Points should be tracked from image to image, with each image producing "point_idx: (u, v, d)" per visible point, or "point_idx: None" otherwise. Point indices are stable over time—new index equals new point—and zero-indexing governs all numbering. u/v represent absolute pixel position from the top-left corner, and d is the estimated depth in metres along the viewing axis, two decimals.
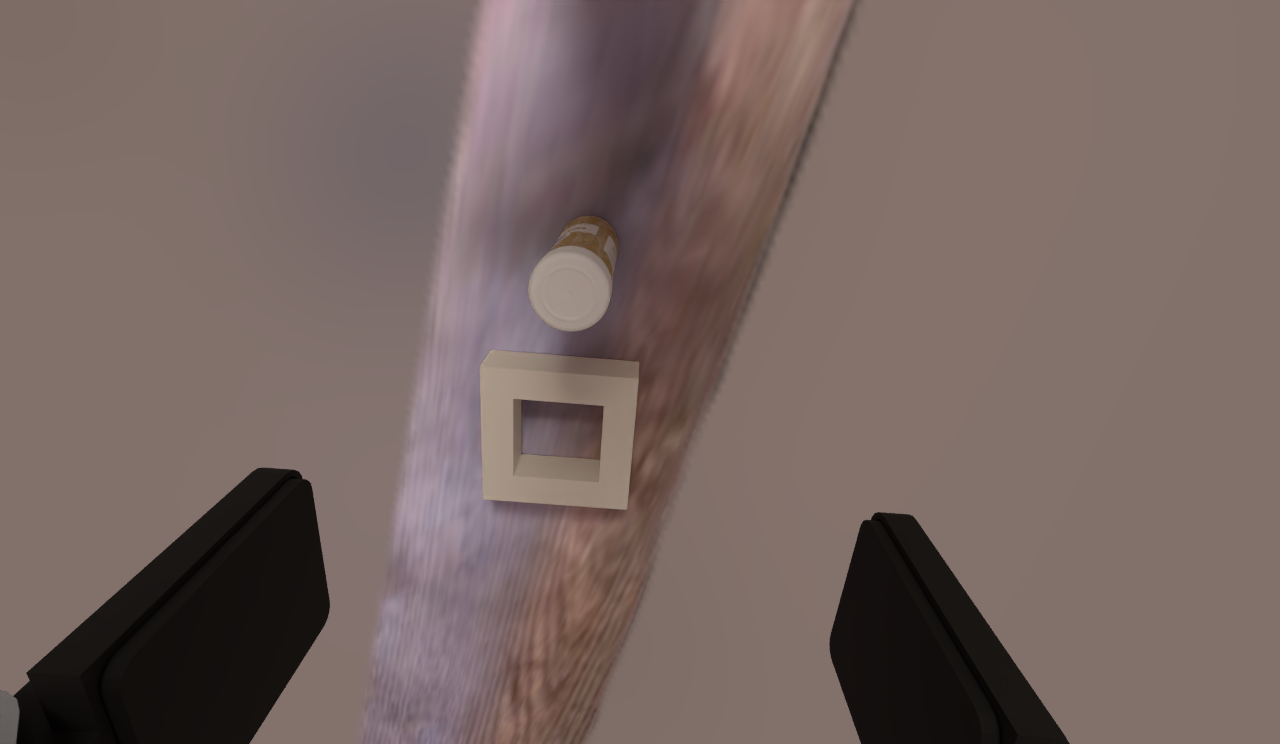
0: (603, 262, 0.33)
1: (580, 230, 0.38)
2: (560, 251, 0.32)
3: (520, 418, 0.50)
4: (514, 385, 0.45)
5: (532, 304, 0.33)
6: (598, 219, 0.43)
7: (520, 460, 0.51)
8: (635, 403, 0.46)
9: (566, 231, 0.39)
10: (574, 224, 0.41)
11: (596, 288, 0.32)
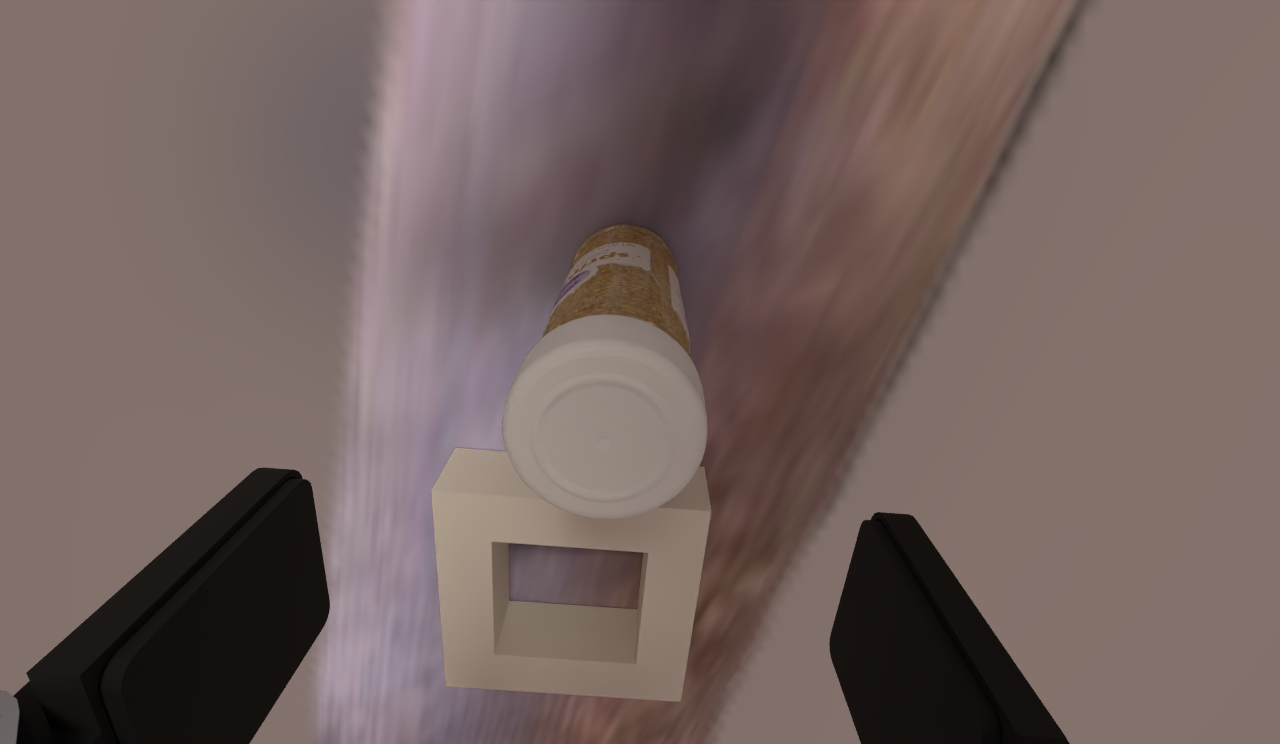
0: (686, 354, 0.14)
1: (618, 261, 0.18)
2: (584, 336, 0.12)
3: (506, 552, 0.30)
4: (493, 521, 0.26)
5: (513, 462, 0.13)
6: (643, 231, 0.23)
7: (507, 616, 0.31)
8: (703, 549, 0.26)
9: (587, 260, 0.20)
10: (601, 243, 0.22)
11: (675, 428, 0.13)
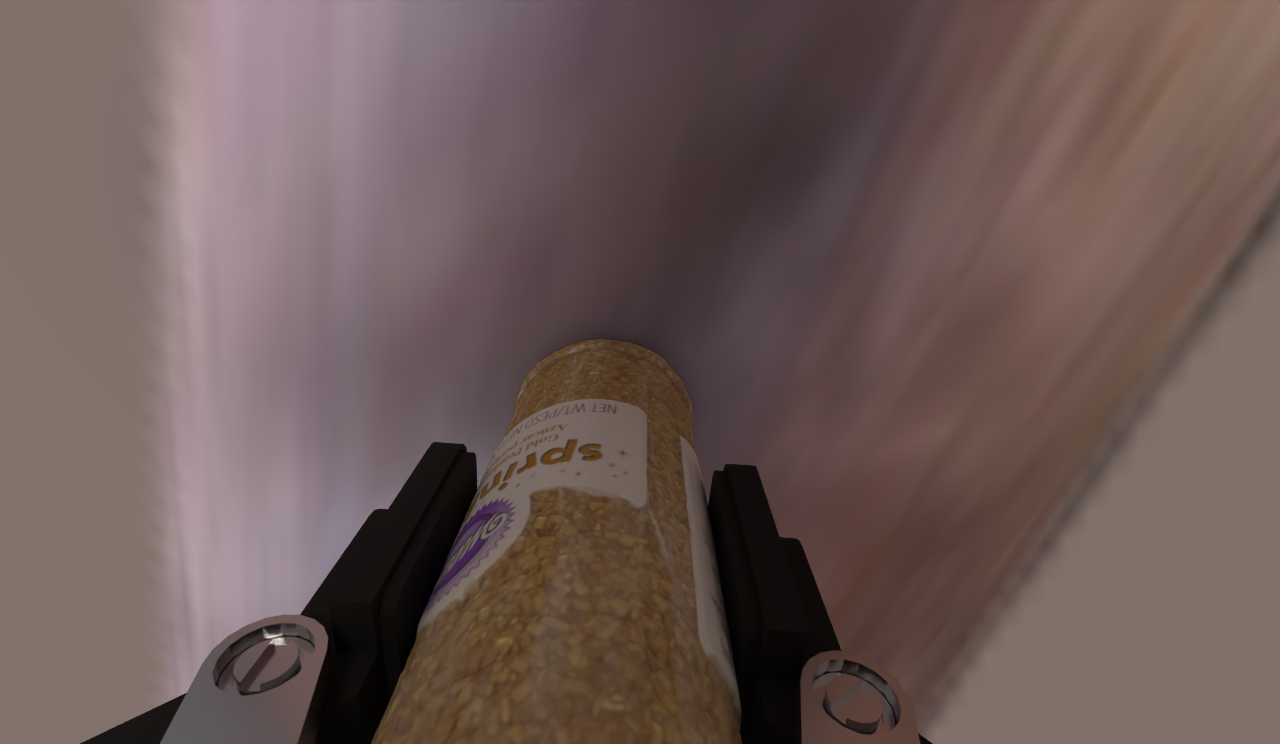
0: None
1: (577, 479, 0.09)
2: None
3: None
4: None
5: None
6: (635, 353, 0.14)
7: None
8: None
9: (521, 450, 0.10)
10: (557, 388, 0.12)
11: None
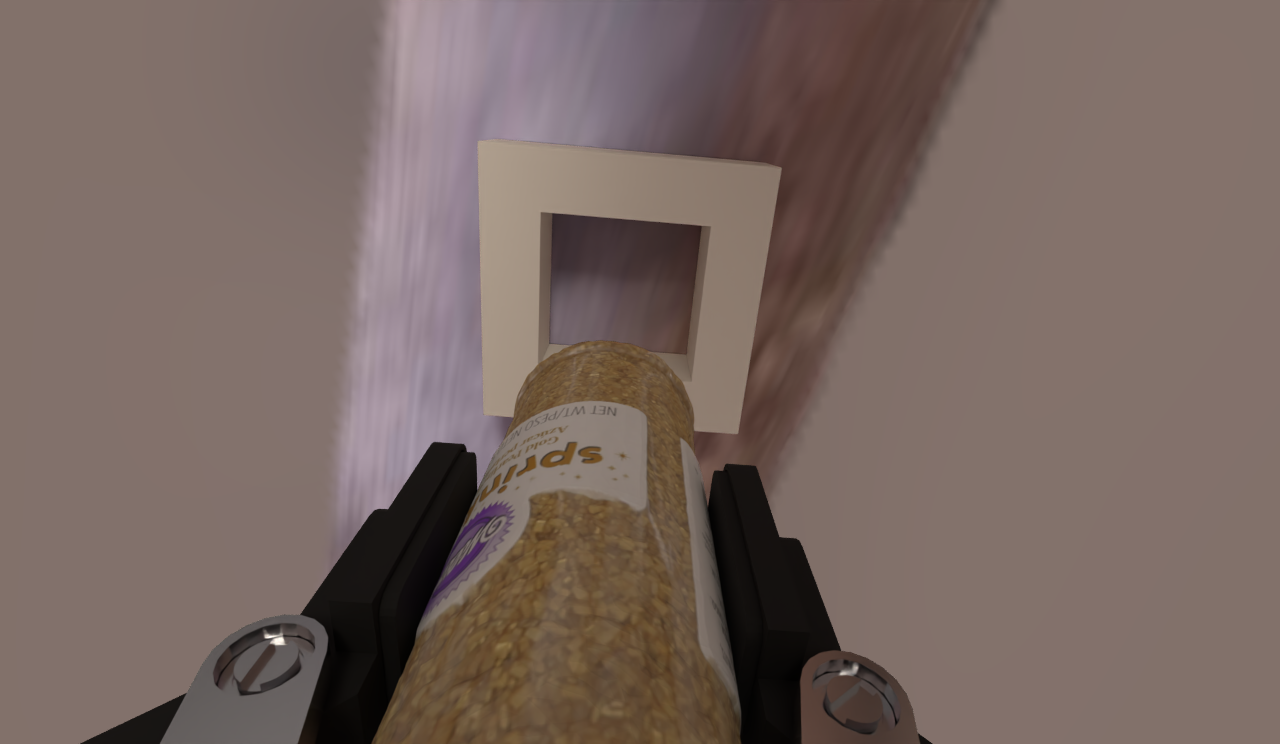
0: None
1: (576, 483, 0.09)
2: None
3: (549, 274, 0.28)
4: (543, 183, 0.24)
5: None
6: (635, 354, 0.14)
7: (548, 351, 0.29)
8: (771, 221, 0.24)
9: (521, 453, 0.10)
10: (557, 390, 0.12)
11: None
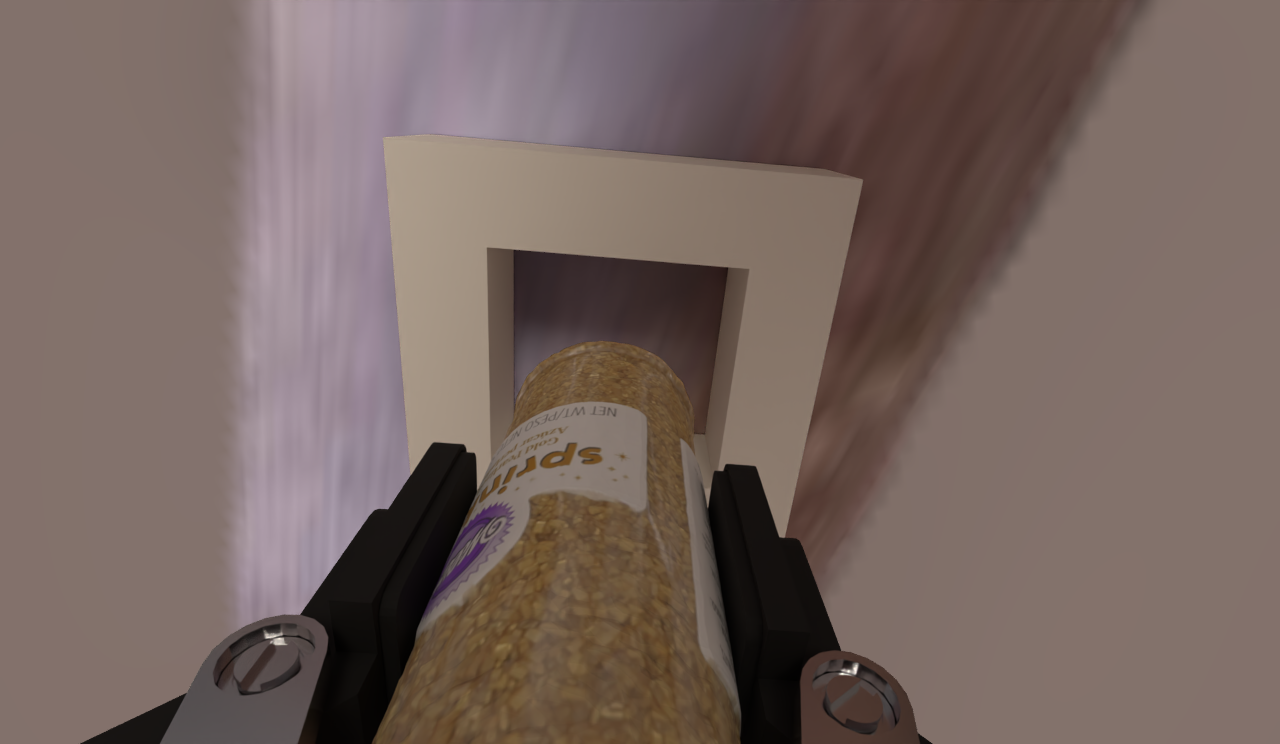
0: None
1: (576, 483, 0.09)
2: None
3: (510, 327, 0.20)
4: (489, 203, 0.15)
5: None
6: (635, 355, 0.14)
7: None
8: (842, 261, 0.16)
9: (521, 454, 0.10)
10: (557, 390, 0.12)
11: None
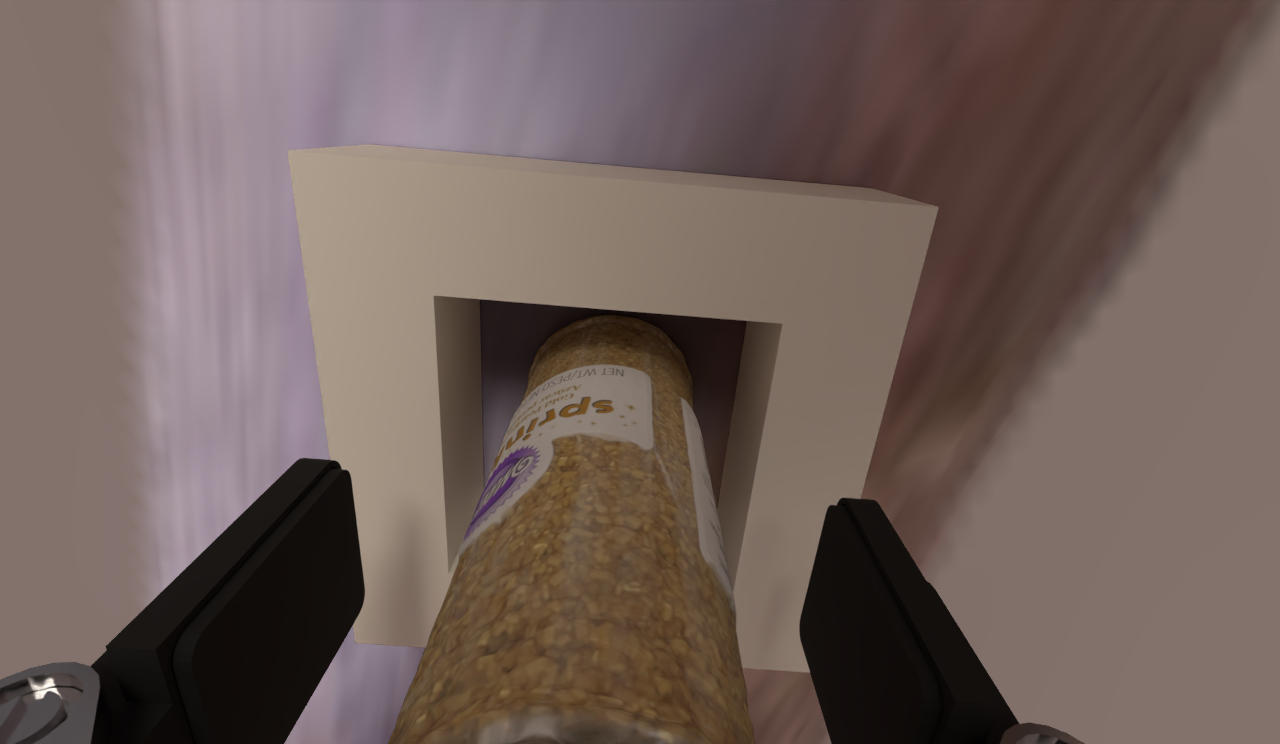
0: None
1: (592, 428, 0.10)
2: None
3: (477, 384, 0.16)
4: (435, 238, 0.11)
5: None
6: (638, 327, 0.15)
7: None
8: (906, 313, 0.12)
9: (541, 408, 0.11)
10: (569, 357, 0.13)
11: None
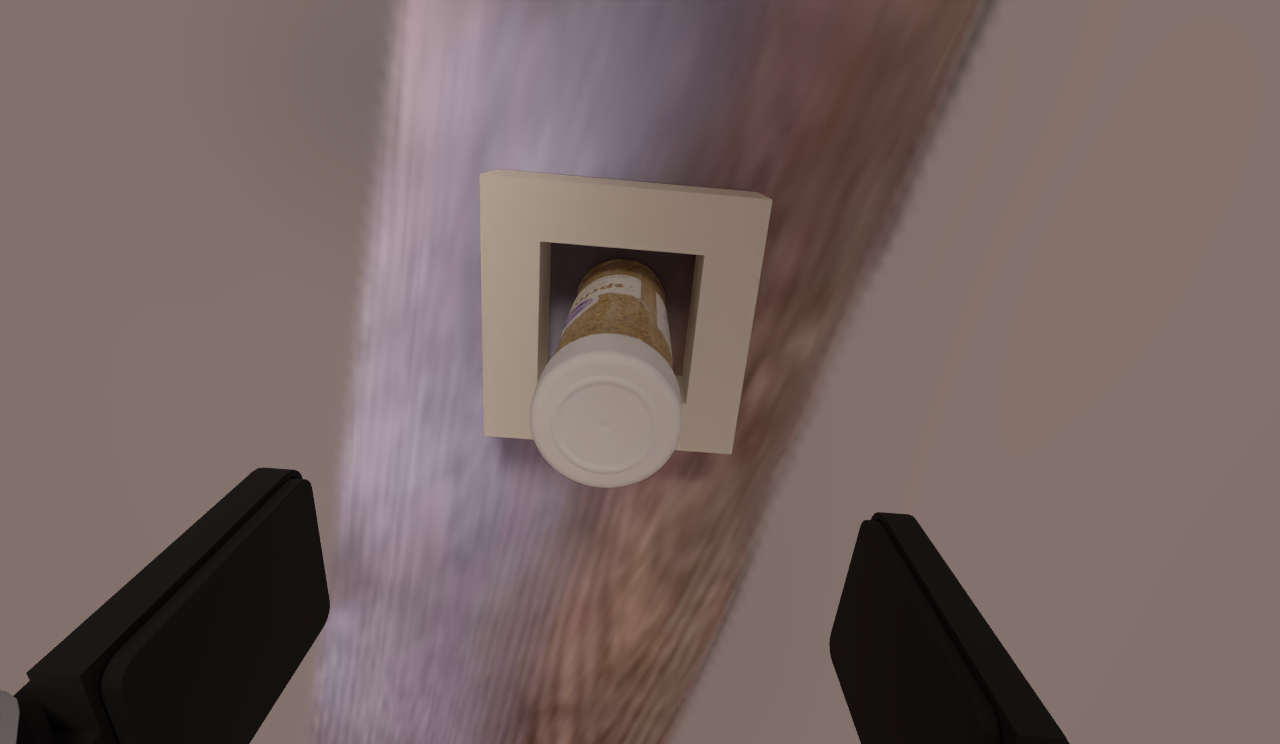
0: (666, 362, 0.18)
1: (614, 290, 0.23)
2: (589, 349, 0.17)
3: (548, 298, 0.29)
4: (543, 214, 0.25)
5: (537, 444, 0.18)
6: (636, 264, 0.28)
7: None
8: (762, 250, 0.25)
9: (590, 290, 0.24)
10: (601, 275, 0.27)
11: (657, 416, 0.17)
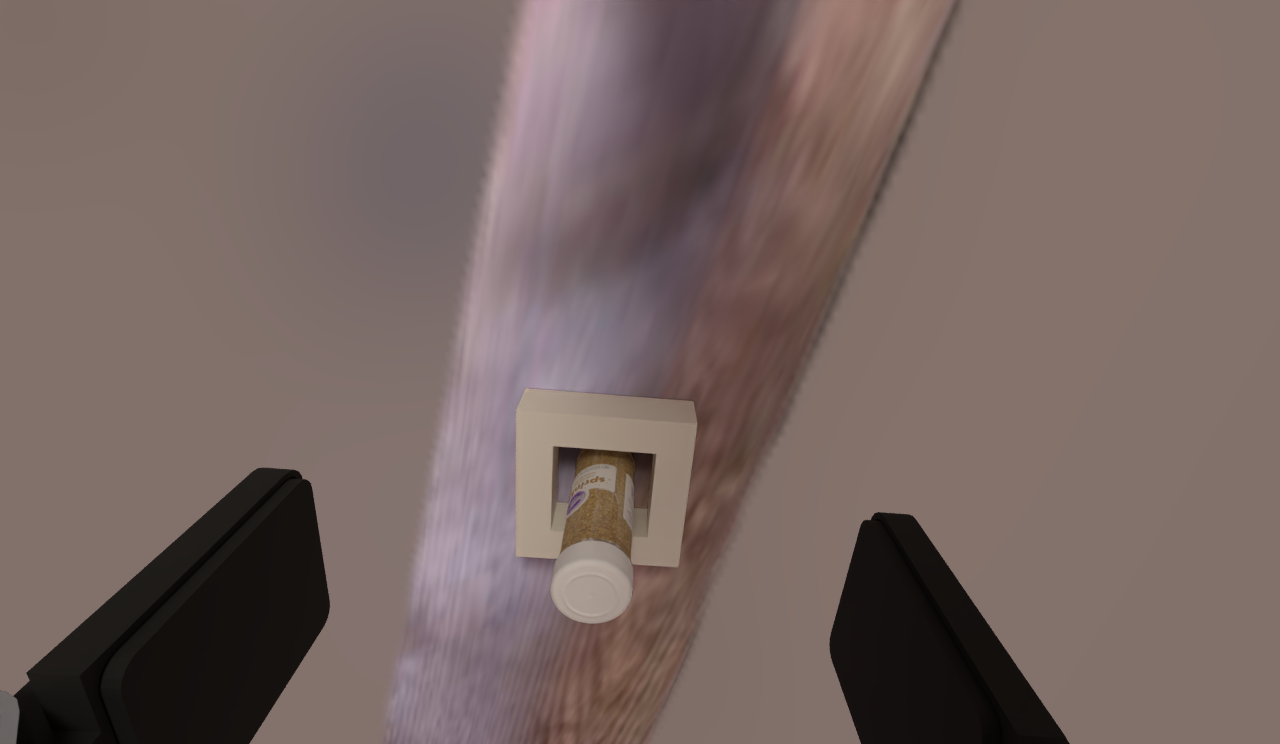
0: (624, 555, 0.33)
1: (599, 486, 0.38)
2: (582, 556, 0.32)
3: (557, 464, 0.44)
4: (555, 431, 0.40)
5: (554, 602, 0.33)
6: None
7: (557, 510, 0.45)
8: (692, 451, 0.40)
9: (584, 479, 0.39)
10: (591, 459, 0.41)
11: (618, 590, 0.32)
